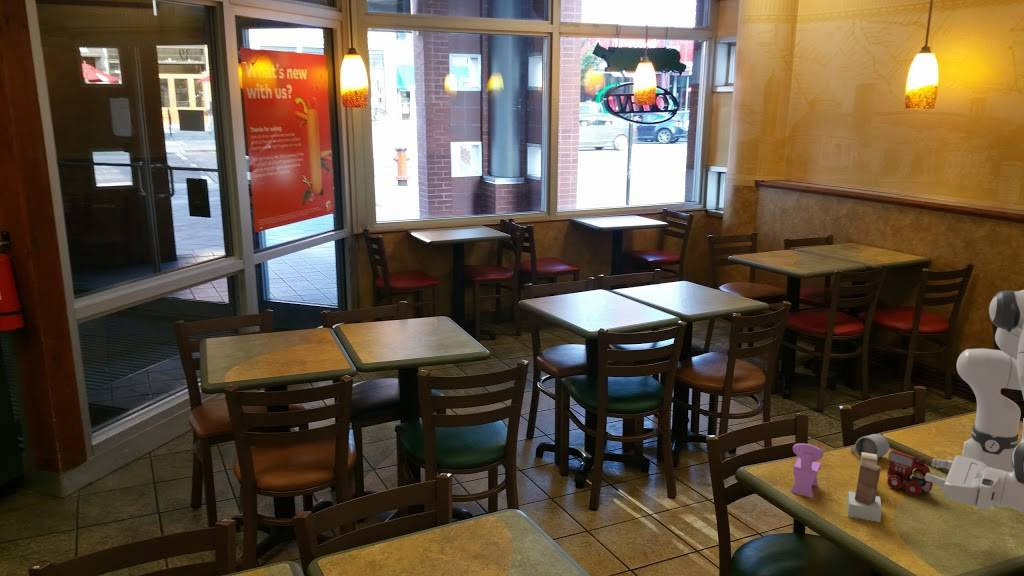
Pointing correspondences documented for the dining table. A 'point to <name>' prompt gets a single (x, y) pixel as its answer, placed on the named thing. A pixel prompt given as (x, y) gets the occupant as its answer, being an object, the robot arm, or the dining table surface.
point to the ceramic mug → (871, 445)
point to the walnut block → (867, 483)
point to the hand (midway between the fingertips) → (928, 469)
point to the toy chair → (806, 468)
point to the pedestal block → (864, 508)
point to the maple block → (868, 458)
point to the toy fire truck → (908, 473)
